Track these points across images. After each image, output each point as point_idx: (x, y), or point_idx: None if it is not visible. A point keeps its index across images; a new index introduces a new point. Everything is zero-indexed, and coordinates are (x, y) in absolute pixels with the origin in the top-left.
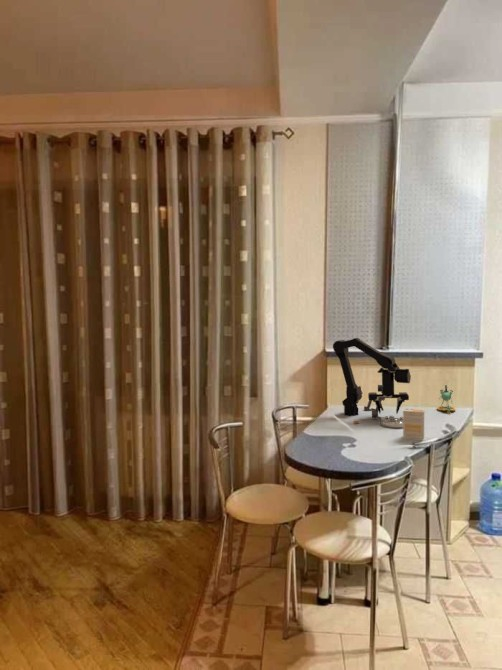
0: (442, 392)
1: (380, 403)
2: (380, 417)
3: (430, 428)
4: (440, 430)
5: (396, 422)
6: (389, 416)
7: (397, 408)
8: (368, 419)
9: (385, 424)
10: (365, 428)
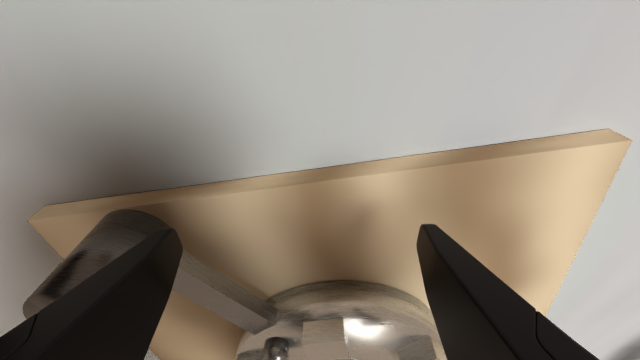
0: None
1: None
2: (211, 300)
3: (592, 315)
4: (627, 338)
5: None
6: (304, 344)
7: (451, 358)
8: (57, 129)
9: None
10: (153, 354)
